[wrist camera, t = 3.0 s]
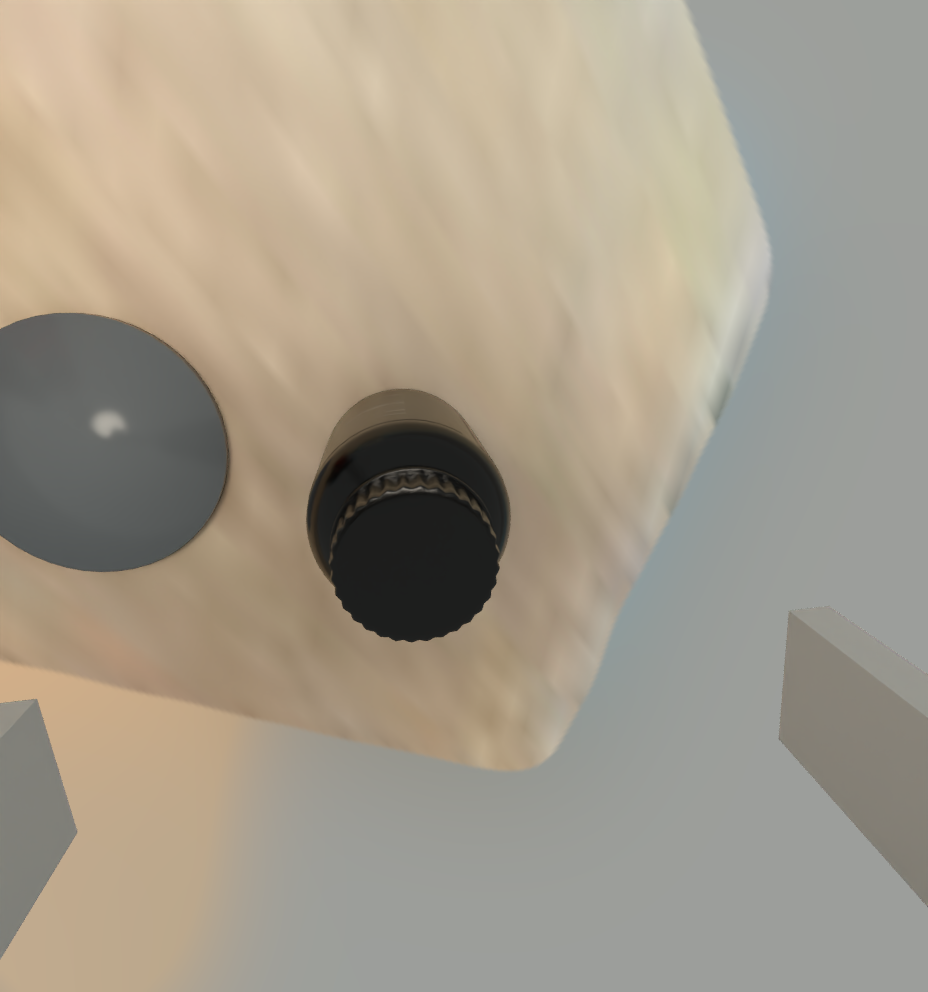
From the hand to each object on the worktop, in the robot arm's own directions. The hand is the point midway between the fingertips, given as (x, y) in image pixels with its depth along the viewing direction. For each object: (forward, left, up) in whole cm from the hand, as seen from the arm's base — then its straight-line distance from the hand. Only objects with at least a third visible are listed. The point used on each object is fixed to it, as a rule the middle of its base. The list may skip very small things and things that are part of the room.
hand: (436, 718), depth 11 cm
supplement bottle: (0, 0, -19) cm, 19 cm away
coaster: (-13, +2, -19) cm, 23 cm away
